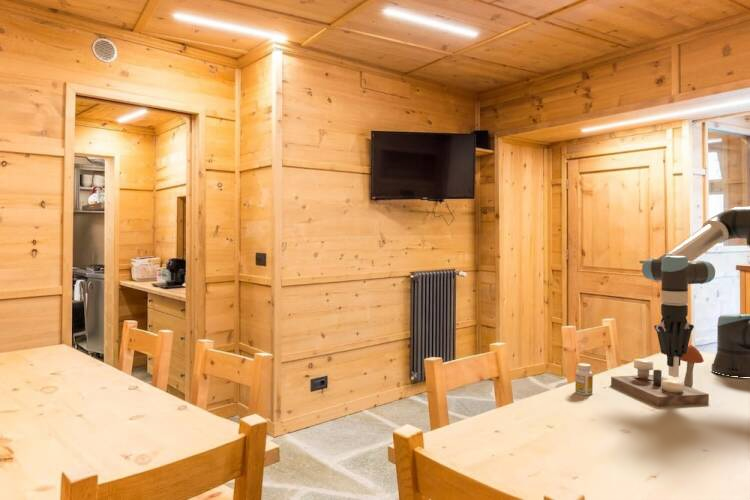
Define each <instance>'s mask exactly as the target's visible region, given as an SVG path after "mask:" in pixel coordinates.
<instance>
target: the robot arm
mask: <svg viewBox="0 0 750 500" xmlns="http://www.w3.org/2000/svg"><path fill="white" fill-rule="evenodd" d="M733 239H746V245H747V246H748V248H750V206H737V207H733V208H730V209H727V210H724V211H722V212H720V213H718V214H716V215H713V216H712V217H710V218H709V219H707V220H706V221H705V222H704V223H703V224H702V226H701V228H700V229H698V230H697V231H695V232H694V233H693V234H691V235H690V236H688V237H687V238H686V239H684V240H682V241H680V243H679V244H677V245H675V246H674V247H673V248H672V249H670V250H668V251H666V252H665V253H664V254H663V255H661V256H660V257H658V258H647V259H646V260H645V261H644V262H643V263H642V266H641V272H642V275H643V277H644V278H646V279H647V280H652V281H656V282H657V281H658V282H659V281H660V282H661V289H660V291H661V293H660V297H661V298H660V302H662V303H661V304H660V315H661V321H660V323H659V324H658V325H657V324H656V325H654V330H655V332H656V334H657V338H658V339H657V340H658V344H659V348H660V353H661V354H662V355H665V356H666V365H667V367H668V376H670V377H673V378H680V376H679V373H680V372H679V371H680V370H679V369H680V366H681V360H680V357H683V354H686V353H687V348H688V346H689V343H690V338H691V335H692V332H693V330H694V328H695V326H694V324H690V323H689V322H688V319H687V317H688V313H689V309H688V308H689V307H688V305H687V304H688V303H689V285H698V284H699V285H703V284H707V283H710V282H711V281H713V280H714V278H715V276H716V268H715V266H714V265H713V263H711V262H710V261H706V260H697V258H699V257H701V256H702V255H703V254H705V253H706V252H707V251H709V250H710V249H711V248H713V247H715V246H716V245H718V244H723V243H725V242H727V241H729V240H733ZM716 327H717V336H716V337H717V344H716V353H715V357H714V360H713V363H712V364H711V370H712V371H714V372H717V373H720V374H724V375H729V376H738V377H750V313H749V314H747V313H745V314H744V313H740V314H739V313H737V314H736V313H735V314H733V313H731V314H722V315H720V316H719V317H718V319H717V324H716ZM712 371H711V372H712ZM714 372H713V373H714Z"/></svg>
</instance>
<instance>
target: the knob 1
mask: <svg viewBox="0 0 750 500" xmlns="http://www.w3.org/2000/svg"><path fill="white" fill-rule="evenodd" d="M633 368H634V369H637V375H638V377H641V378H649V375H650V371H654V361H653V360H650V359H645V358H636V359H633Z"/></svg>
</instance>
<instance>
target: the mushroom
mask: <svg viewBox="0 0 750 500" xmlns="http://www.w3.org/2000/svg"><path fill="white" fill-rule="evenodd" d="M703 358H704V357H703V356H702V354H701V352H700V351H699V350H698V348H696V347H695V346H694V345H692V344H690V345H688V348H687V353H686V354H683V357H680V361H682V362H685V363H686V371H685V376H684V378H683V385H685V386H688V387H691V388H693V384H694V374H693V373H694V366H695V364H701V363H704V362H705V361H704V359H703Z"/></svg>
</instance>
